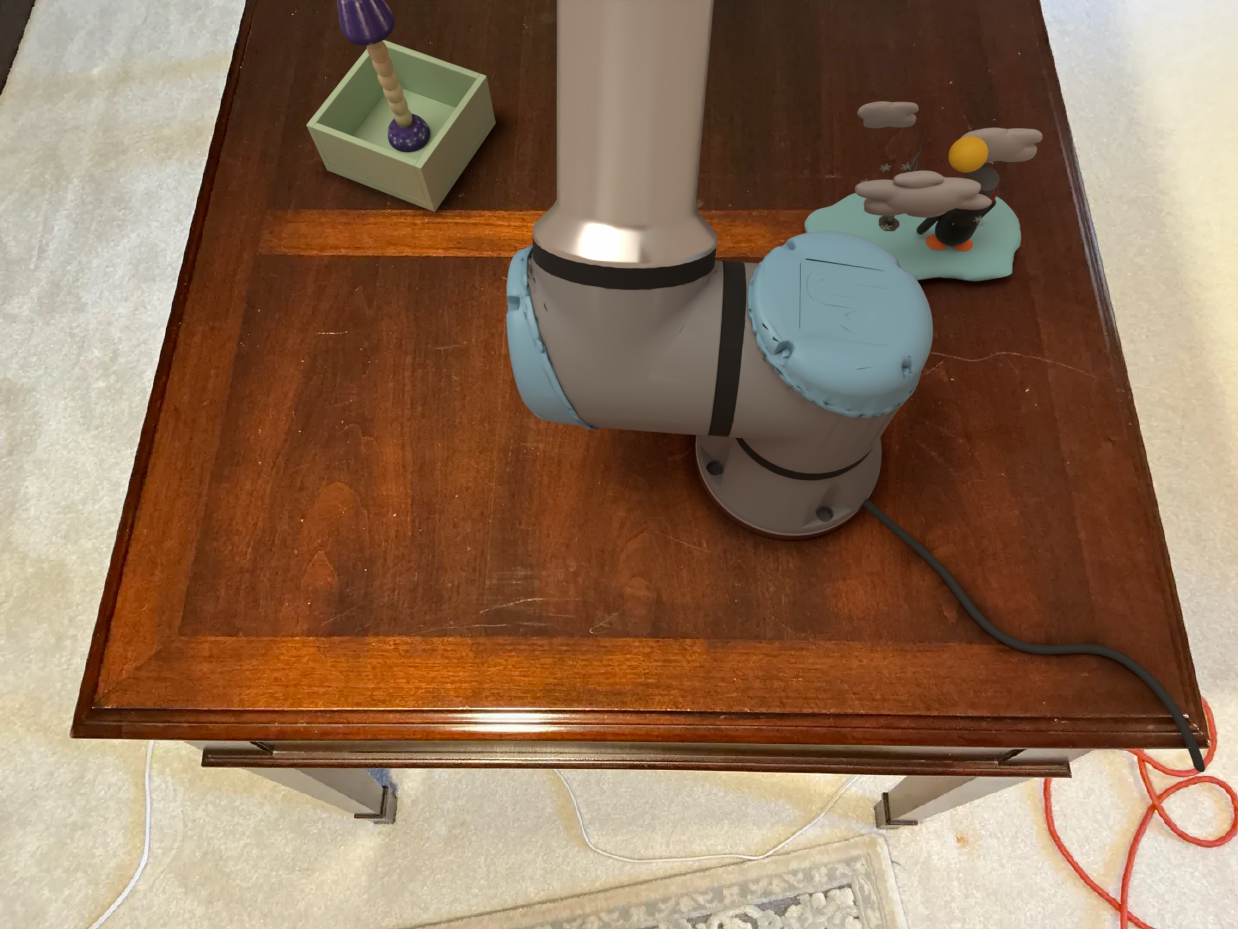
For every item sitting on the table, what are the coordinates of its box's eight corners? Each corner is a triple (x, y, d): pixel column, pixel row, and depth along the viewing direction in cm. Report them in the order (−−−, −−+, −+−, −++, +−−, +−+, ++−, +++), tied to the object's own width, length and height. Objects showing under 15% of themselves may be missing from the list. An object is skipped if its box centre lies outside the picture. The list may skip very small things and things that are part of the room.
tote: (496, 123, 86) (486, 75, 81) (435, 212, 82) (420, 168, 77) (391, 85, 89) (375, 36, 83) (327, 170, 84) (305, 124, 79)
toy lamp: (389, 159, 84) (334, 11, 68) (376, 125, 85) (319, -27, 70) (436, 144, 84) (391, -6, 69) (422, 111, 86) (376, -43, 70)
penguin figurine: (1006, 200, 82) (1083, 72, 68) (1026, 293, 78) (1113, 177, 64) (798, 201, 82) (832, 74, 68) (808, 295, 78) (846, 179, 64)
